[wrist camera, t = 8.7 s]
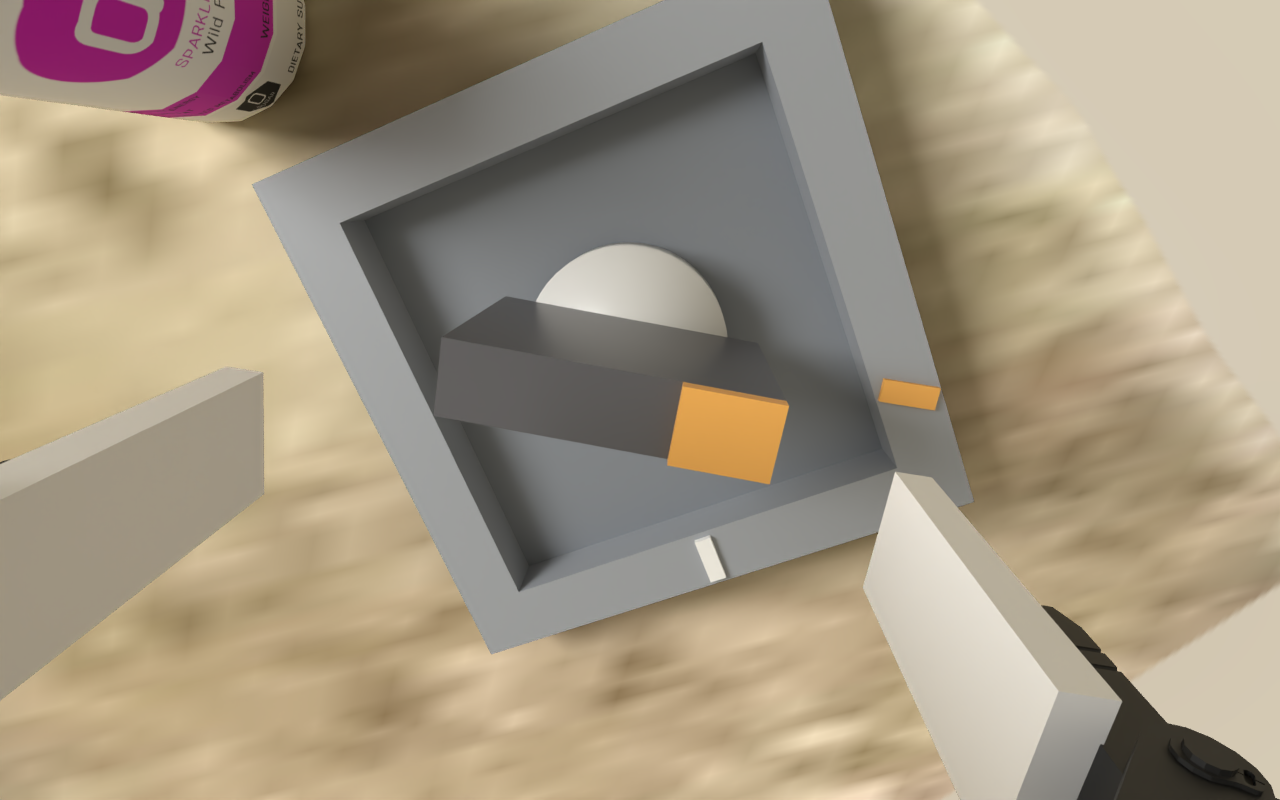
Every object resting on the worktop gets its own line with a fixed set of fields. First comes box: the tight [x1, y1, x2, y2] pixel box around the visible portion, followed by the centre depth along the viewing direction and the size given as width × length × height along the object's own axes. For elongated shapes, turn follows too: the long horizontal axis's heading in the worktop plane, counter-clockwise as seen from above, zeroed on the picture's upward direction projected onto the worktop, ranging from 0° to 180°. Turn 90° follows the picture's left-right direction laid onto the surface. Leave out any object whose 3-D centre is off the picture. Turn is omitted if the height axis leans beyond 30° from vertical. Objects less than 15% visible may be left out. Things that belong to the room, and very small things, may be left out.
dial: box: [434, 242, 789, 484], centre depth 26 cm, size 10×8×10 cm
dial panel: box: [252, 0, 974, 654], centre depth 30 cm, size 22×22×4 cm
